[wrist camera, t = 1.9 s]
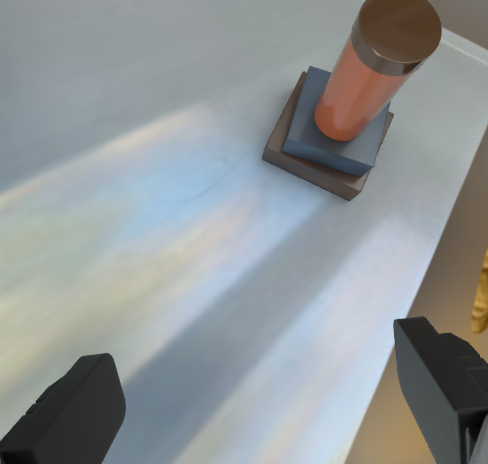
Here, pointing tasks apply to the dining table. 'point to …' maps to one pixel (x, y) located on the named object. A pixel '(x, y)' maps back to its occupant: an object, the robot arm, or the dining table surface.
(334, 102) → the terracotta canister
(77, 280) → the dining table surface
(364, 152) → the block stack
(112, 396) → the robot arm
